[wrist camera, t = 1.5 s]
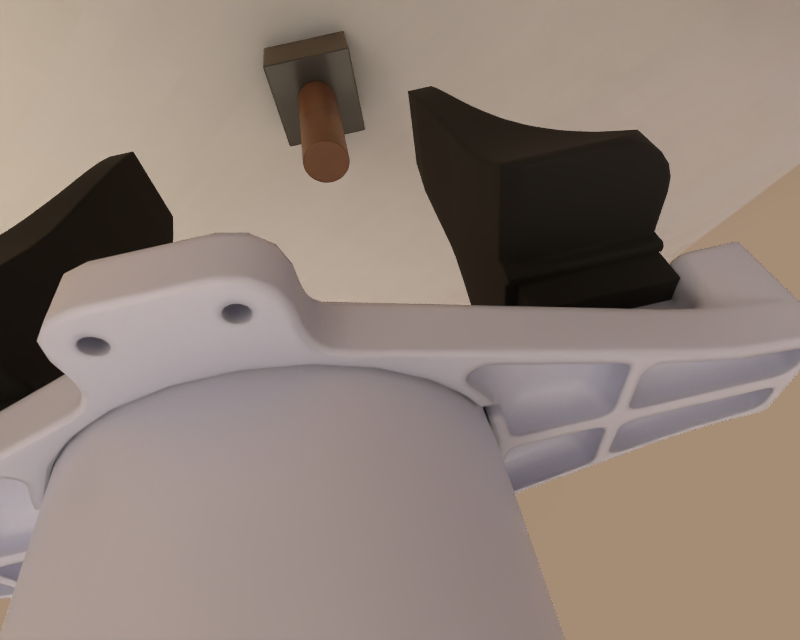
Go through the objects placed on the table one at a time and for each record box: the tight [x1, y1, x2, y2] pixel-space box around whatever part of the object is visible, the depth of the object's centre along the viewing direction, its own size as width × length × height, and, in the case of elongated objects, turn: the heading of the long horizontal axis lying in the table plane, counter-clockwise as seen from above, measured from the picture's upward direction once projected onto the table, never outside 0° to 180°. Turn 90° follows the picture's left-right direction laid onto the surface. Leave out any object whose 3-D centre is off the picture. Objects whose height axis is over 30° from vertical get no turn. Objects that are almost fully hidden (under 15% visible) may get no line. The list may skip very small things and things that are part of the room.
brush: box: [263, 31, 365, 183], centre depth 19 cm, size 3×3×7 cm
